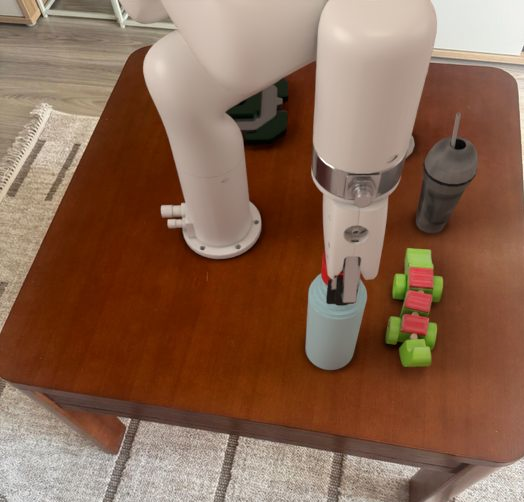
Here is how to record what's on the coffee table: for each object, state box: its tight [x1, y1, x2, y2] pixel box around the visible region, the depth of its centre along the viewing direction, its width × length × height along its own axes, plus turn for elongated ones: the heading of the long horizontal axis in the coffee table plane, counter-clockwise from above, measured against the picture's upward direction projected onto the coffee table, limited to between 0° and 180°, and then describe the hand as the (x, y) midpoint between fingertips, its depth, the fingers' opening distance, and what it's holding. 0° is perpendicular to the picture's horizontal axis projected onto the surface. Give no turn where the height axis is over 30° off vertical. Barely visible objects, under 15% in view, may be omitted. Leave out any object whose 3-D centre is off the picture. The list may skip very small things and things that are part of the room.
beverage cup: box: [415, 112, 479, 234], centre depth 74 cm, size 7×7×20 cm
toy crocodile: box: [385, 247, 444, 368], centre depth 73 cm, size 20×7×6 cm, turn 167°
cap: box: [320, 251, 362, 286], centre depth 57 cm, size 4×4×3 cm
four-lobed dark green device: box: [225, 77, 289, 146], centre depth 94 cm, size 18×18×5 cm
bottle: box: [304, 273, 368, 371], centre depth 65 cm, size 7×7×20 cm
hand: (339, 282), depth 59 cm, fingers closed on cap, 4 cm apart
